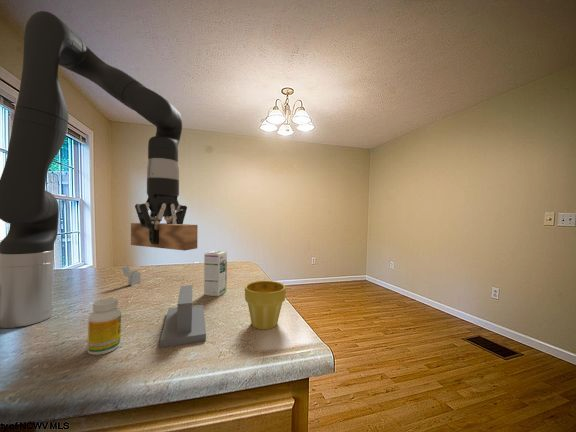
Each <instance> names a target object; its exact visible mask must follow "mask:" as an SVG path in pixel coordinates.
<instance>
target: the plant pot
mask: <svg viewBox="0 0 576 432" xmlns="http://www.w3.org/2000/svg"><path fill="white" fill-rule="evenodd" d="M286 290H287V289H286V285H284V283H282V282H278V281H276V280H275V281H274V280H256V281H252V282H250V283H247V284H246V285H245V287H244V301H245V302H246V303H247V307H248V313H249V318H250V322H251V323H250V324H251V326H252V327H253V328H255V329H258V330H270V328H271V329H273V328H275V327H276V326H277V325H278V322H279V318H280V314H281V310H282V305H283V303H284V302H285V299H286Z"/></svg>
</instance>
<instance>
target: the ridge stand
mask: <svg viewBox="0 0 576 432" xmlns="http://www.w3.org/2000/svg"><path fill="white" fill-rule="evenodd" d="M176 305H177V307H168V310H167V312H166V317H165V320H164V325H163V328H162V331H161V336H160V340H159V348H161V349H162V348H167V347H174V346H181V345H186V344H193V343H200V342H206V341H207V330H206V321H205V319H206V318H205V311H204V310H205V309H204V304H197V305H193V284H189V285H188V284H187V285H180V288H179V294H178V299H177V304H176Z"/></svg>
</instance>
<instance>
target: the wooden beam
mask: <svg viewBox="0 0 576 432" xmlns="http://www.w3.org/2000/svg"><path fill="white" fill-rule="evenodd" d="M157 230H159V244H156V245H154V244H151V242H150V241H149V229H148V228H145V227H142V226H141V224H140V222H130V245H131V246H135V247H136V246H138V247H146V248H147V247H148V248H157V249H158V248H159V249H166V250H175V251H189V250H196V249H198V232H199V231H198V224H187V223H186V224H185V223H183V224H167V223H165V222H164V223H163V222H162V223H161V222H160V224H159V228H158V229H157Z"/></svg>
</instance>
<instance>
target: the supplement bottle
mask: <svg viewBox="0 0 576 432" xmlns="http://www.w3.org/2000/svg"><path fill="white" fill-rule="evenodd" d="M118 305H119V300H118V298H116V297H115V298H114V297H109V298H103V299H98V300H96V301H94V302H93V304H92V310H93V312H91V313H90V314H89V316H88V318H87V319H88V320H87V322H88V323H87V324H88V325H87V353H88V354H89V355H95V356H99V355H104V354H108V353H111V352H112V351H115V350H116V349H118V348H119V346H120V345H121V335H122V334H121V333H122V311H121V309H120V308H118Z"/></svg>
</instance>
